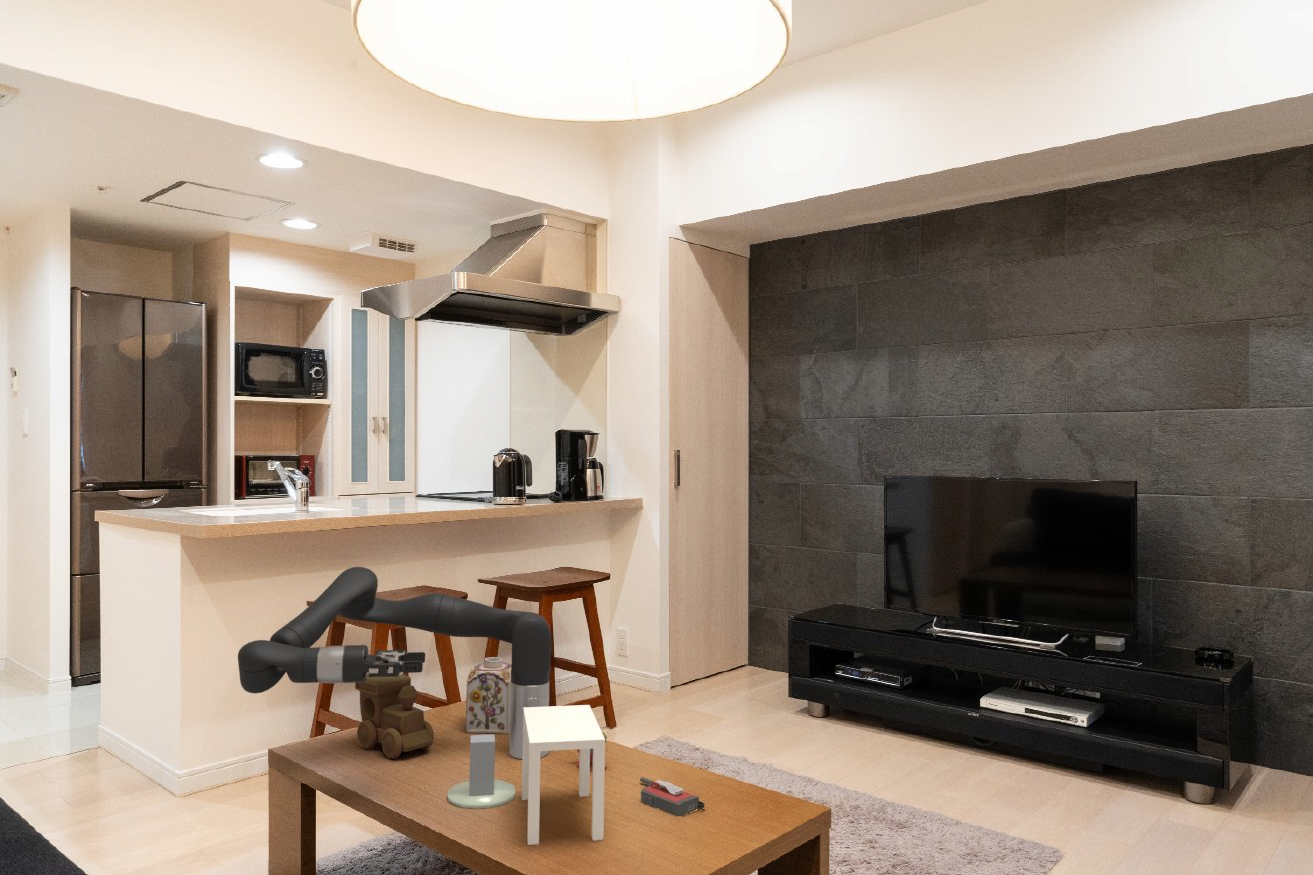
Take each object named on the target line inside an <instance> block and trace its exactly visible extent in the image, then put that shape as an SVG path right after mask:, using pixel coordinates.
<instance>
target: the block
mask: <svg viewBox="0 0 1313 875" xmlns="http://www.w3.org/2000/svg"><path fill="white" fill-rule="evenodd" d="M469 746H470V747H469V781H470V790H469V796H483V795H494V780H495V769H496V768H495V764H496V762H495V758H496V738H495V734H490V733H489V734H473V735H471V734H470V745H469Z"/></svg>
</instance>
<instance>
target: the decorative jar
mask: <svg viewBox="0 0 1313 875" xmlns="http://www.w3.org/2000/svg"><path fill="white" fill-rule="evenodd" d="M483 660H484V662H482V663H478V664H474V665H473V666H471V668H470V670H469V674H468V676H467V680H466V696H465V697H466V698H465V699H466V702H465V706H466V707H465V732H466V733H467V734H490V733H500V734H501V733H502V734H503V735H508V734H509V735H510V698H511V664H512V663H509V662H503V658H501V657H498V656H496V657H495V656H492V657H485V658H484V659H483ZM500 734H499V735H500ZM502 734H501V735H502Z"/></svg>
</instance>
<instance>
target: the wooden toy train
mask: <svg viewBox="0 0 1313 875" xmlns="http://www.w3.org/2000/svg"><path fill="white" fill-rule="evenodd" d="M411 684H412V678H411V677H410V676H408V675H406V674H404V673H403V674H401V675H399V676H397V677H368V675H367V679H366V681H365V682H358V683H354V689H355V690H356V691H359V708H360V717H361V721H360V722H359V723H358V724H359V725H358V727H357V731H356V733H357V734H356V735H357V740H358V743H359V744H360V746H361V748H363V749H365V750H371V749H372V748H374V747H375V745H376V744H377V743H381V748H382V751H383V754H384V755H385V756H386V757H388V759H393V760H395V759H397V758H398V757H399V756H400V755H401V753H402V752H403V753H407V752H410V751H414V750H417V749H421V750H425V751H426V750H428V749H430V747H432V745H433V743H434V738H435V733H434V728H433V726H432V725H431V724H430V722H429V721H427V720H425V714H424V713H425V712H424V710H422V709H421V708H418V707H415V706H414V704H415V701H416V699H417V697H418V695H419V693H418V691H417V689H416V688H415V686H414V685H411Z"/></svg>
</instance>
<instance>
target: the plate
mask: <svg viewBox="0 0 1313 875" xmlns="http://www.w3.org/2000/svg"><path fill="white" fill-rule="evenodd" d="M469 790H470V780H467V781H463V782H459V783H458V784H455V785H453V786H452V787H450V788H449V790H448V791H447V801H448V803H450V802H451V803H452V804H451V803H450V804H451V805H453V806H456V807H458V808H463V809H469V808H473V809H474V810H481V809H482V808H484V809H491V808H496V807H500V806H503V805H507V803H510V802H511V801H513V800H514V799H515V797H516V787H515V785H513V784H511V783H510V782H508V781H505V780H501V779H494V795H483V796H469ZM473 809H472V810H473Z"/></svg>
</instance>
